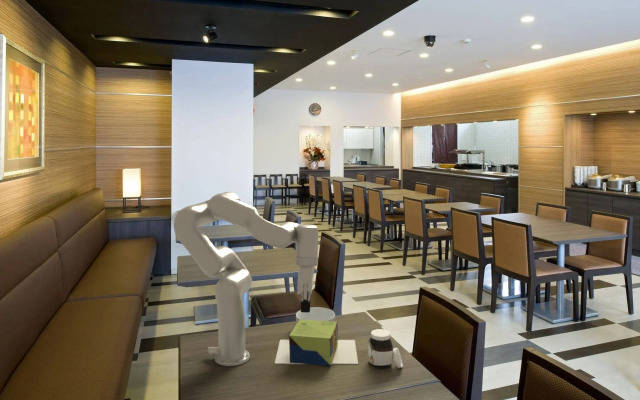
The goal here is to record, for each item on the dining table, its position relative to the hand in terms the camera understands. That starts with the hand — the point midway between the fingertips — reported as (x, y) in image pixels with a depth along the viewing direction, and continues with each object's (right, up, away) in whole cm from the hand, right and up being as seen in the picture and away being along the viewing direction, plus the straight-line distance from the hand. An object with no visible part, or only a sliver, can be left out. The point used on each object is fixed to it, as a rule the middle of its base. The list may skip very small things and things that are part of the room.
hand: (305, 311), depth 161 cm
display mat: (+4, -19, +14) cm, 24 cm away
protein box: (+1, -15, +2) cm, 15 cm away
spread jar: (+29, -20, +4) cm, 35 cm away
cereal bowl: (+3, -17, +35) cm, 39 cm away
